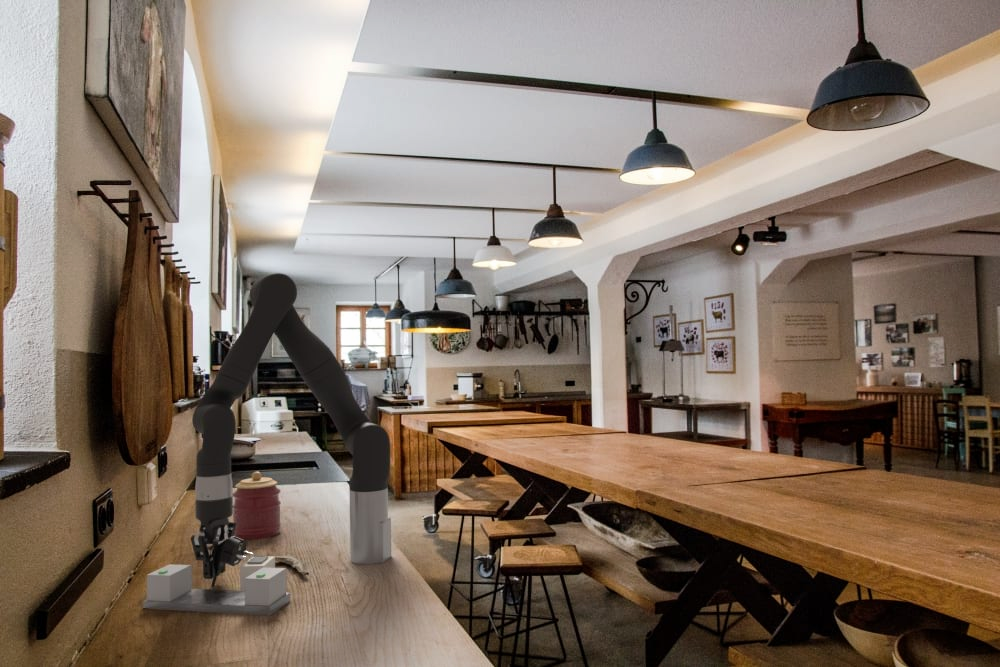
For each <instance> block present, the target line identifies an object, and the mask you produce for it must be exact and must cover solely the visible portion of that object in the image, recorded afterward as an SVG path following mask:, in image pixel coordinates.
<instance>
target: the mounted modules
mask: <svg viewBox="0 0 1000 667" xmlns="http://www.w3.org/2000/svg"><path fill="white" fill-rule="evenodd" d="M192 589H193V588H192V565H191V564H171V563H169V564H167V565H165V566H164V567H161V568H158V569H156V570H155V571H152V572H150V573H148V574H146V599H147V600H148V601H171V600H173V599H175V598H177V597H179V596H181V595H183V594H184V593H186V592H188V591H190V590H192ZM286 592H287V568H286V567H275V568H265V567H263V568H261V569H260V570H258V571H256V572H255V573H253V574H251V575H249V576H248V577H246V578H245V605H265V606H269V605H271V604H272V603H274V602H275V601H276V600H278V599H279V598H281V597H282V596H283V595H285V594H286Z"/></svg>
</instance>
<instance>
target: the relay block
mask: <svg viewBox="0 0 1000 667" xmlns="http://www.w3.org/2000/svg"><path fill="white" fill-rule="evenodd" d="M265 556H266V557H250V558H249V559H248V560H245V562H243V563H242V564H241V565H240V566H239V585H240V587H239V591H245V578H246V577H248V576H249V575H251V574H253V573H255V572H256V571H258V570H260V569H261V568H263V567H265V568H276V561H275V557H276V556H274V555H273V556H272V555H271V556H268V555H265Z"/></svg>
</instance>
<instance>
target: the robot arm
mask: <svg viewBox="0 0 1000 667" xmlns="http://www.w3.org/2000/svg"><path fill="white" fill-rule="evenodd" d="M297 296H298V289H297V285H296V283H295V281H294V279H292V278H291V277H290V276H289V275H287V274H285V273H281V272H273V273H269V274H266V275H264V276H263V277H261V278H260V279H259V280H257V281H256V282H255V283H253V285H252V287H251V288H250V291H249V299H250V303H251V305H252V308H253V309H252V311H251V313H250V316H249V318H248V320H247V322H246V324H245V326H244V327H243V329H242V331H241V333H240V334H239V335H238V337H237V339H236V340H235V342H234V343H233V344H232V346H231V347H230V349H229V351H228V352H227V354H226V356H225V357H224V360H223V361H222V364H221V366H220V367H219V369H218V371H217V374H216V375H215V378H214V381H213V382H212V384H211V385H210V386H209V388H208V389H207V390H206V392H205V393H204V394H203V396H202V398H201V399H200V401H199V402H198V403H197V404H196V407H195V408H194V412H193V414H192V420H191V421H192V426H193V429H195V431H196V432H197V433H199V434H201V435H202V442H201V444H202V445H201V449H199V450H198V451H197V454H196V462H195V463H196V477H195V478H196V479H195V486H194V487H195V488H194V490H195V491H194V492H195V495H194V496H195V497H194V498H195V503H194V504H195V505H194V506H195V509H194V510H195V519H196V520H198V521H199V522H200V526H199V531H198V533H197V534H195V535H193V534H192V535H191V537H190V542H191V546H192V549H193V553H194V556H195V560H196V561H200V562H202V570H203V571H202V575H203V576H202V577H203V579H204V580H213V578H214V577H215V561H214V558H215V550H216V549H217V545H218V544H220V543H222V542H223V541H225V540H226V539H228V538H230V537H232V536H234V534H235V528H236V522H233V521H230V520H229V518H231V517H233V505H234V497H233V493H234V492H233V490H234V489H233V487H234V486H233V479H232V449H233V445H234V441H235V437H236V436H235V435H236V429H237V428H236V425H237V423H236V420H237V419H236V415H235V413H234V411H233V409H232V407H233V404H234V403H235V402H236V400H238V399H239V398H241V397H243V395H245V393H246V391H247V389H248V386H249V385H250V383H251V380H252V378H253V376H254V375H255V372H256V370H257V369H258V365H259V363H260V361H261V359H262V356H263V354H264V352H265V350H266V348H267V346H268V344H269V342H270V340H271V338H272V337H273V335H275V336H276V337H277V339H278V340H279V343H280V344H281V345H282V348H283V349H284V351H285V353H286V354H287V356H288V357H289V359H290V360H291V362H292V364H293V365H294V367H295V368H296V370H297V372H298V373H299V375H300V377H301V378H302V380H303V381H304V383H305V384H306V386H307V387H308V389H309V390H310V392H311V393H312V394H313V396H314V397H315V398H316V400H317V401H318V402H319V404H320V405H321V407H322V408H323V409H324V410H325V412H326V413H327V414H328V415H329V417H330V418H331V420H332V422H333V423H334V426H335V427H336V428H337V431H338V433H339V435H340V437H341V439H342V441H343V443H344V445H345V447H346V449H347V451H348V452H349V453H350V454H351V455H352V474H351V477H349V484H348V485H349V489H348V490H349V545H350V548H349V550H350V551H349V555H350V562H351V563H353V564H357V565H371V564H372V565H374V564H384V563H385V562H386V561H388V560H389V559H390V558H391V557H392V519H391V517H389V507H388V506H389V504H388V503H389V501H388V500H389V496H388V492H389V491H388V490H389V489H388V488H389V487H388V484H389V483H388V480H389V478H390V473H391V442H390V441H391V440H390V437H389V433H388V432H387V430H386V429H385V428H384V427H382V426H381V425H379V424H376V423H373V422H372V421H371V420H370V418H368V416H367V415H366V414H365V412H364V411H363V409H362V408H361V407H360V405H359V403H358V402H357V400H356V399H355V396H354V393H353V390H352V388H351V385H350V381H349V378H348V377H347V374H346V372H345V371H344V369H343V366H342V365H341V364H340V362H339V361H338V358H337V357H336V356H335V355H334V354H335V353H333V351H332V350H331V348H330V347H329V346H328V345H327V344H326V343H325V342H324V341H323V340H322V339H321V338H320V337H319V336H317V335H316V333H314V332H313V331H312V330H311V329H310V328H309V327H308V325H306V323H304V321H303V320H302V318H301V317H300V315H299V314H298V311H297V310H296V308H295V306H294V303H295V302H296V300H297ZM226 565H227V564H226V563H225V564H224V565H223V567H222V570H221V572H220V574H223V573H225V572H226V568H227V566H226Z"/></svg>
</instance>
